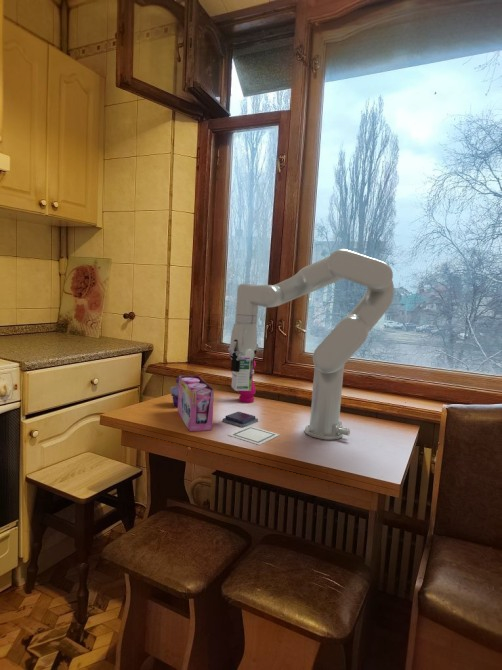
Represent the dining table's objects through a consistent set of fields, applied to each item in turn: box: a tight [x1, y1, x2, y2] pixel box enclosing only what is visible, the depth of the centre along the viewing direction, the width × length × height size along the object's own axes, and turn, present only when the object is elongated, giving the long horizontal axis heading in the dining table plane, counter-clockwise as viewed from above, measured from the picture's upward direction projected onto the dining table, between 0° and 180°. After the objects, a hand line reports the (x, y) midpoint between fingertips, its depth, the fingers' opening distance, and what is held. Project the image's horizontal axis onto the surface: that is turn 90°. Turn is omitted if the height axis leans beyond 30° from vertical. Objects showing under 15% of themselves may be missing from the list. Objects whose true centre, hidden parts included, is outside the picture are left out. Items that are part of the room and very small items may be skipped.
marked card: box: [228, 425, 280, 446], centre depth 131 cm, size 12×12×1 cm
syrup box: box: [231, 349, 254, 392], centre depth 142 cm, size 6×6×14 cm
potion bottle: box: [170, 374, 186, 408], centre depth 159 cm, size 9×9×12 cm
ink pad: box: [222, 411, 259, 428], centre depth 144 cm, size 9×9×2 cm
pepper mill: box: [237, 359, 257, 404], centre depth 171 cm, size 7×7×20 cm
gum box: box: [177, 375, 215, 432], centre depth 142 cm, size 24×8×14 cm, turn 20°
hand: (242, 369), depth 143 cm, fingers closed on syrup box, 7 cm apart
